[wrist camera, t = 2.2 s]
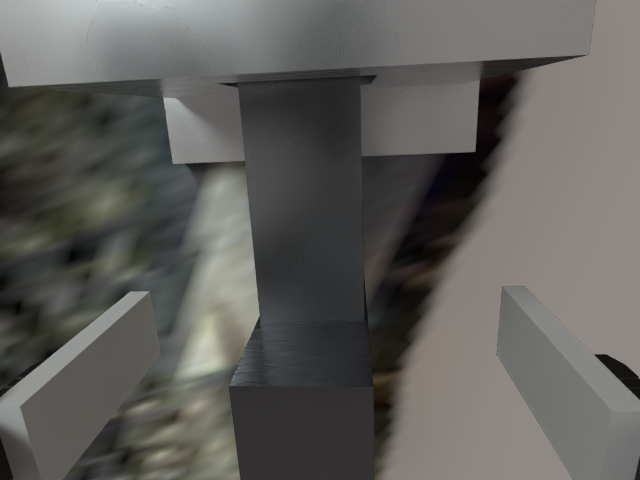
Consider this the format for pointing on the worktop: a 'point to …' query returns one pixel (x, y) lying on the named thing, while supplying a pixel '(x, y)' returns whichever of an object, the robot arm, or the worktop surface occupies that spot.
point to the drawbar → (305, 286)
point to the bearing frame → (292, 59)
